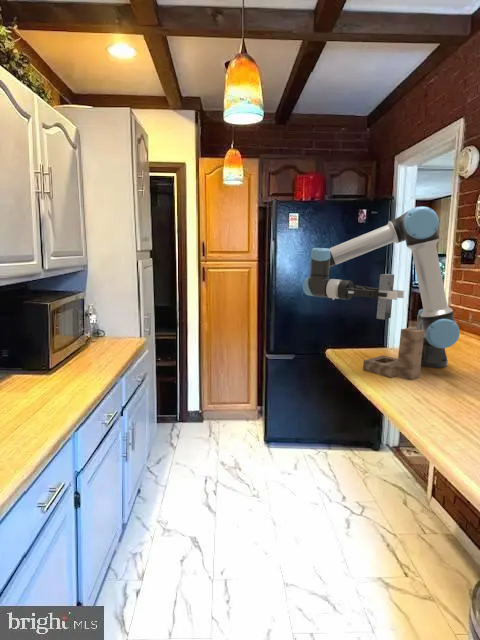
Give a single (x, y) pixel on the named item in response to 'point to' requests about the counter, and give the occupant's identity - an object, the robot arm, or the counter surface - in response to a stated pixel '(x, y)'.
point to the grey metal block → (383, 304)
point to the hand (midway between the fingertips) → (400, 295)
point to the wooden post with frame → (400, 357)
